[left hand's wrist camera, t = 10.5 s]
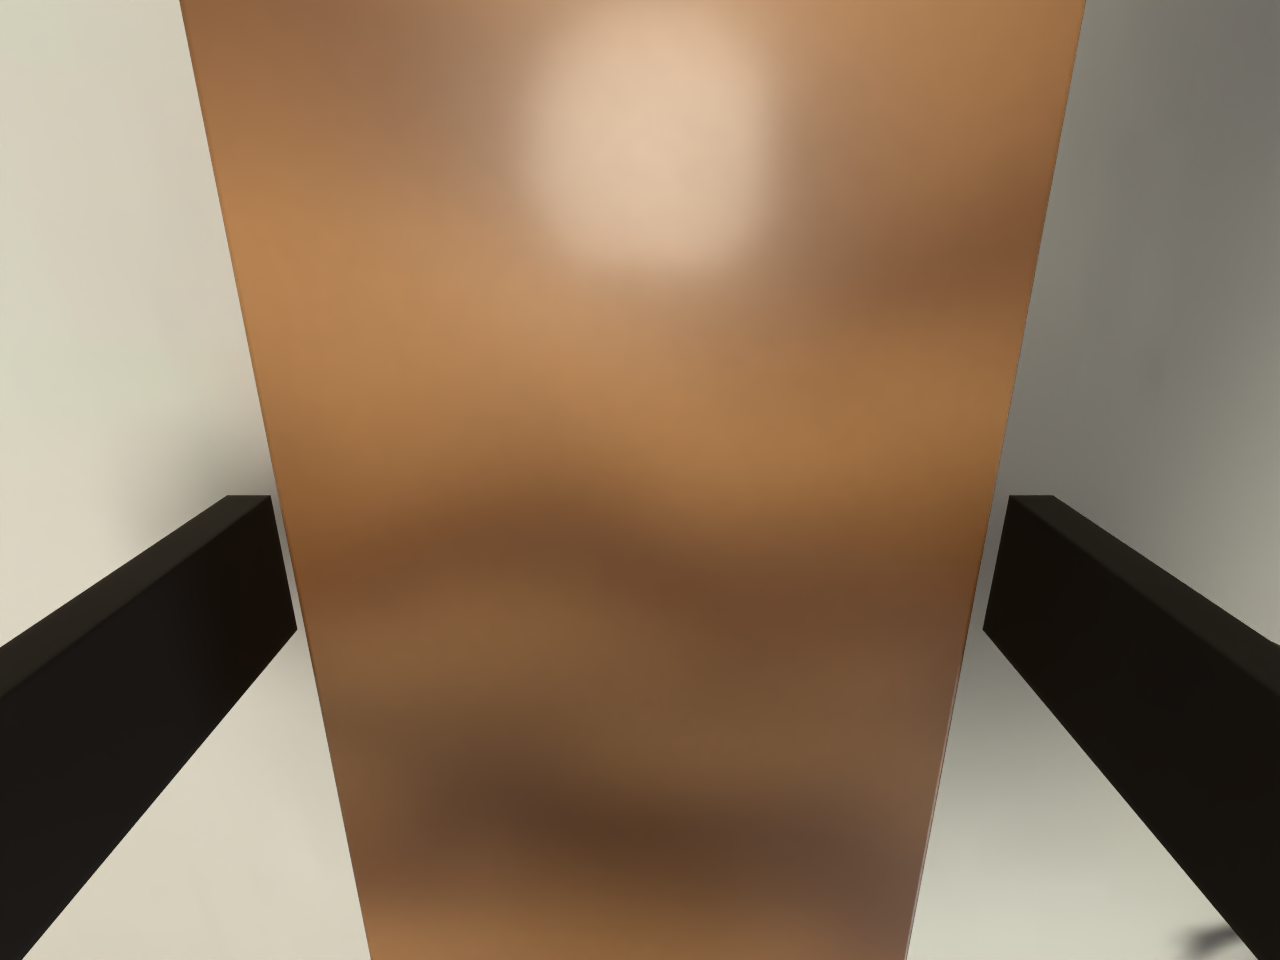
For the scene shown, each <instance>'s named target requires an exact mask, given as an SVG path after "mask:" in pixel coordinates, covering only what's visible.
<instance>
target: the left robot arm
mask: <svg viewBox="0 0 1280 960" xmlns="http://www.w3.org/2000/svg"><path fill="white" fill-rule="evenodd" d="M296 631H297V625H296V620H295V615H294V610H293V605H292V600H291V595H290V590H289V585H288V580H287V575H286V570H285V565H284V560H283V555H282V550H281V545H280V540H279V535H278V530H277V525H276V520H275V515H274V511H273V506H272V501H271V496H270V495H227V496H226V497H224V498H223V499H221V500H220V501H218V502H217V503H215V504H214V505H212V506H211V507H209V508H208V509H206V510H205V511H203V512H202V513H200V514H199V515H197V516H196V517H194V518H193V519H191V520H190V521H188V522H187V523H185V524H184V525H182V526H181V527H179V528H178V529H176V530H175V531H173V532H172V533H170V534H169V535H167V536H166V537H164V538H163V539H161V540H160V541H158V542H157V543H155V544H154V545H153V546H151V547H150V548H148V549H147V550H145V551H144V552H142V553H141V554H139V555H138V556H136V557H135V558H133V559H132V560H130V561H129V562H127V563H126V564H124V565H123V566H121V567H120V568H118V569H117V570H115V571H114V572H112V573H111V574H109V575H108V576H106V577H105V578H103V579H102V580H100V581H99V582H97V583H96V584H94V585H93V586H91V587H90V588H88V589H87V590H85V591H84V592H82V593H81V594H79V595H78V596H76V597H75V598H73V599H72V600H70V601H69V602H67V603H66V604H64V605H63V606H61V607H60V608H58V609H57V610H55V611H54V612H52V613H51V614H50V615H48V616H47V617H45V618H44V619H42V620H41V621H39V622H38V623H36V624H35V625H33V626H32V627H30V628H29V629H27V630H26V631H24V632H23V633H21V634H20V635H18V636H17V637H15V638H14V639H12V640H11V641H9V642H8V643H6V644H5V645H3V646H2V647H0V960H22V959H23V958H24V957H25V955H26V954H27V953H28V952H29V951H30V949H31V948H32V947H33V946H34V945H35V943H36V942H37V941H38V940H39V939H40V937H41V936H42V935H43V934H44V933H45V931H46V930H47V929H48V928H49V927H50V925H51V924H52V923H53V922H54V921H55V919H56V918H57V917H58V916H59V915H60V913H61V912H62V911H63V910H64V909H65V907H66V906H67V905H68V904H69V903H70V901H71V900H72V899H73V898H74V897H75V895H76V894H77V893H78V892H79V891H80V889H81V888H82V887H83V886H84V885H85V883H86V882H87V881H88V880H89V879H90V877H91V876H92V875H93V874H94V873H95V871H96V870H97V869H98V868H99V867H100V865H101V864H102V863H103V862H104V861H105V859H106V858H107V857H108V856H109V855H110V853H111V852H112V851H113V850H114V849H115V847H116V846H117V845H118V844H119V843H120V841H121V840H122V839H123V838H124V837H125V835H126V834H127V833H128V832H129V831H130V829H131V828H132V827H133V826H134V825H135V823H136V822H137V821H138V820H139V819H140V817H141V816H142V815H143V814H144V813H145V812H146V810H147V809H148V808H149V807H150V806H151V804H152V803H153V802H154V801H155V800H156V798H157V797H158V796H159V795H160V794H161V792H162V791H163V790H164V789H165V788H166V786H167V785H168V784H169V783H170V782H171V780H172V779H173V778H174V777H175V776H176V774H177V773H178V772H179V771H180V770H181V768H182V767H183V766H184V765H185V764H186V762H187V761H188V760H189V759H190V758H191V756H192V755H193V754H194V753H195V752H196V750H197V749H198V748H199V747H200V746H201V744H202V743H203V742H204V741H205V740H206V738H207V737H208V736H209V735H210V734H211V732H212V731H213V730H214V729H215V728H216V726H217V725H218V724H219V723H220V722H221V720H222V719H223V718H224V717H225V716H226V714H227V713H228V712H229V711H230V710H231V708H232V707H233V706H234V705H235V704H236V702H237V701H238V700H239V699H240V698H241V696H242V695H243V694H244V693H245V692H246V690H247V689H248V688H249V687H250V686H251V684H252V683H253V682H254V681H255V680H256V678H257V677H258V676H259V675H260V674H261V672H262V671H263V670H264V669H265V668H266V667H267V665H268V664H269V663H270V662H271V661H272V659H273V658H274V657H275V656H276V655H277V653H278V652H279V651H280V650H281V649H282V647H283V646H284V645H285V644H286V643H287V641H288V640H289V639H290V638H291V637H292V635H293V634H294V633H295V632H296ZM983 631H984V632H985V633H986V634H987V635H988V637H989V638H990V639H991V640H992V641H993V643H994V644H995V645H996V646H997V647H998V649H999V650H1000V651H1001V652H1002V653H1003V655H1004V656H1005V657H1006V658H1007V659H1008V661H1009V662H1010V663H1011V664H1012V665H1013V667H1014V668H1015V669H1016V670H1017V671H1018V672H1019V674H1020V675H1021V676H1022V677H1023V678H1024V680H1025V681H1026V682H1027V683H1028V684H1029V686H1030V687H1031V688H1032V689H1033V690H1034V692H1035V693H1036V694H1037V695H1038V696H1039V698H1040V699H1041V700H1042V701H1043V702H1044V704H1045V705H1046V706H1047V707H1048V708H1049V710H1050V711H1051V712H1052V713H1053V714H1054V716H1055V717H1056V718H1057V719H1058V720H1059V722H1060V723H1061V724H1062V725H1063V726H1064V728H1065V729H1066V730H1067V731H1068V732H1069V734H1070V735H1071V736H1072V737H1073V738H1074V740H1075V741H1076V742H1077V743H1078V744H1079V746H1080V747H1081V748H1082V749H1083V750H1084V752H1085V753H1086V754H1087V755H1088V756H1089V758H1090V759H1091V760H1092V761H1093V762H1094V764H1095V765H1096V766H1097V767H1098V768H1099V770H1100V771H1101V772H1102V773H1103V774H1104V776H1105V777H1106V778H1107V779H1108V780H1109V782H1110V783H1111V784H1112V785H1113V786H1114V788H1115V789H1116V790H1117V791H1118V792H1119V794H1120V795H1121V796H1122V797H1123V798H1124V800H1125V801H1126V802H1127V803H1128V804H1129V806H1130V807H1131V808H1132V809H1133V810H1134V812H1135V813H1136V814H1137V815H1138V816H1139V817H1140V819H1141V820H1142V821H1143V822H1144V823H1145V825H1146V826H1147V827H1148V828H1149V829H1150V831H1151V832H1152V833H1153V834H1154V835H1155V837H1156V838H1157V839H1158V840H1159V841H1160V843H1161V844H1162V845H1163V846H1164V847H1165V849H1166V850H1167V851H1168V852H1169V853H1170V855H1171V856H1172V857H1173V858H1174V859H1175V861H1176V862H1177V863H1178V864H1179V865H1180V867H1181V868H1182V869H1183V870H1184V871H1185V873H1186V874H1187V875H1188V876H1189V877H1190V879H1191V880H1192V881H1193V882H1194V883H1195V885H1196V886H1197V887H1198V888H1199V889H1200V891H1201V892H1202V893H1203V894H1204V895H1205V897H1206V898H1207V899H1208V900H1209V901H1210V903H1211V904H1212V905H1213V906H1214V907H1215V909H1216V910H1217V911H1218V912H1219V913H1220V915H1221V916H1222V917H1223V918H1224V919H1225V921H1226V922H1227V923H1228V924H1229V925H1230V927H1231V928H1232V929H1233V930H1234V931H1235V933H1236V934H1237V935H1238V936H1239V937H1240V939H1241V940H1242V941H1243V942H1244V943H1245V945H1246V946H1247V947H1248V948H1249V949H1250V951H1251V952H1252V953H1253V954H1254V955H1255V957H1256V958H1257V959H1258V960H1280V645H1278V644H1276V643H1274V642H1271V641H1269V640H1268V639H1266V638H1265V637H1263V636H1262V635H1260V634H1259V633H1257V632H1256V631H1254V630H1253V629H1251V628H1250V627H1248V626H1247V625H1245V624H1244V623H1242V622H1241V621H1239V620H1238V619H1236V618H1235V617H1233V616H1232V615H1230V614H1229V613H1228V612H1226V611H1225V610H1223V609H1222V608H1220V607H1219V606H1217V605H1216V604H1214V603H1213V602H1211V601H1210V600H1208V599H1207V598H1205V597H1204V596H1202V595H1201V594H1199V593H1198V592H1196V591H1195V590H1193V589H1192V588H1190V587H1189V586H1187V585H1186V584H1184V583H1183V582H1181V581H1180V580H1178V579H1177V578H1175V577H1174V576H1172V575H1171V574H1169V573H1168V572H1166V571H1165V570H1163V569H1162V568H1160V567H1159V566H1157V565H1156V564H1154V563H1153V562H1151V561H1150V560H1148V559H1147V558H1145V557H1144V556H1142V555H1141V554H1139V553H1138V552H1136V551H1135V550H1133V549H1132V548H1130V547H1129V546H1127V545H1126V544H1125V543H1123V542H1122V541H1120V540H1119V539H1117V538H1116V537H1114V536H1113V535H1111V534H1110V533H1108V532H1107V531H1105V530H1104V529H1102V528H1101V527H1099V526H1098V525H1096V524H1095V523H1093V522H1092V521H1090V520H1089V519H1087V518H1086V517H1084V516H1083V515H1081V514H1080V513H1078V512H1077V511H1075V510H1074V509H1072V508H1071V507H1069V506H1068V505H1066V504H1065V503H1063V502H1062V501H1060V500H1059V499H1057V498H1056V497H1054V496H1053V495H1010V496H1009V500H1008V505H1007V510H1006V515H1005V520H1004V525H1003V530H1002V535H1001V540H1000V545H999V550H998V555H997V560H996V565H995V570H994V575H993V580H992V585H991V590H990V595H989V600H988V605H987V610H986V615H985V620H984V625H983Z"/></svg>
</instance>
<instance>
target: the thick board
mask: <svg viewBox="0 0 1280 960" xmlns="http://www.w3.org/2000/svg"><path fill="white" fill-rule="evenodd" d="M179 1H180V6H181V11H182V16H183V21H184V26H185V31H186V36H187V41H188V46H189V51H190V56H191V61H192V66H193V71H194V76H195V81H196V86H197V91H198V96H199V101H200V106H201V111H202V116H203V121H204V126H205V131H206V136H207V141H208V146H209V151H210V156H211V161H212V166H213V171H214V176H215V181H216V186H217V191H218V196H219V201H220V206H221V211H222V216H223V221H224V226H225V231H226V236H227V241H228V246H229V251H230V256H231V261H232V266H233V271H234V276H235V281H236V286H237V291H238V296H239V301H240V306H241V311H242V316H243V321H244V326H245V331H246V336H247V341H248V346H249V351H250V356H251V361H252V366H253V371H254V376H255V381H256V386H257V391H258V396H259V401H260V406H261V411H262V416H263V421H264V426H265V431H266V436H267V441H268V446H269V451H270V456H271V461H272V466H273V471H274V476H275V481H276V486H277V491H278V496H279V501H280V506H281V511H282V516H283V521H284V526H285V531H286V536H287V541H288V546H289V551H290V556H291V561H292V566H293V571H294V576H295V581H296V586H297V591H298V596H299V601H300V606H301V611H302V616H303V621H304V626H305V631H306V636H307V641H308V646H309V651H310V656H311V661H312V666H313V671H314V676H315V681H316V686H317V691H318V696H319V702H320V707H321V712H322V717H323V722H324V727H325V732H326V737H327V742H328V747H329V752H330V757H331V762H332V767H333V772H334V777H335V782H336V787H337V792H338V797H339V802H340V807H341V812H342V817H343V822H344V827H345V832H346V837H347V842H348V847H349V852H350V857H351V862H352V867H353V872H354V877H355V882H356V887H357V892H358V897H359V902H360V907H361V912H362V917H363V922H364V927H365V932H366V937H367V942H368V947H369V952H370V957H371V960H907V954H908V949H909V944H910V938H911V933H912V928H913V922H914V917H915V912H916V906H917V901H918V895H919V890H920V885H921V879H922V874H923V869H924V863H925V858H926V853H927V847H928V842H929V837H930V831H931V826H932V821H933V815H934V810H935V805H936V799H937V794H938V789H939V783H940V778H941V772H942V767H943V762H944V756H945V751H946V746H947V740H948V735H949V730H950V724H951V719H952V714H953V708H954V703H955V698H956V692H957V687H958V682H959V676H960V671H961V666H962V660H963V655H964V649H965V644H966V639H967V633H968V628H969V623H970V617H971V612H972V607H973V601H974V596H975V591H976V585H977V580H978V575H979V569H980V564H981V559H982V553H983V548H984V543H985V537H986V532H987V526H988V521H989V516H990V510H991V505H992V500H993V494H994V489H995V484H996V478H997V473H998V468H999V462H1000V457H1001V452H1002V446H1003V441H1004V436H1005V430H1006V425H1007V420H1008V414H1009V409H1010V403H1011V398H1012V393H1013V387H1014V382H1015V377H1016V371H1017V366H1018V361H1019V355H1020V350H1021V345H1022V339H1023V334H1024V329H1025V323H1026V318H1027V313H1028V307H1029V302H1030V297H1031V291H1032V286H1033V281H1034V275H1035V270H1036V264H1037V259H1038V254H1039V248H1040V243H1041V238H1042V232H1043V227H1044V222H1045V216H1046V211H1047V206H1048V200H1049V195H1050V190H1051V184H1052V179H1053V174H1054V168H1055V163H1056V158H1057V152H1058V147H1059V141H1060V136H1061V131H1062V125H1063V120H1064V115H1065V109H1066V104H1067V99H1068V93H1069V88H1070V83H1071V77H1072V72H1073V67H1074V61H1075V56H1076V51H1077V45H1078V40H1079V35H1080V29H1081V24H1082V18H1083V13H1084V8H1085V2H1086V0H179Z"/></svg>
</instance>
